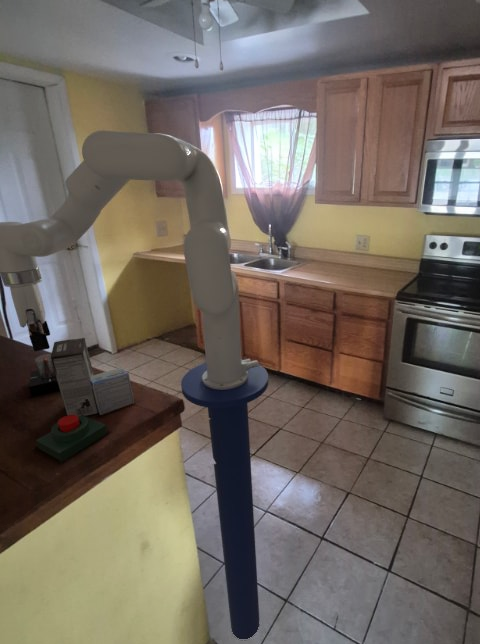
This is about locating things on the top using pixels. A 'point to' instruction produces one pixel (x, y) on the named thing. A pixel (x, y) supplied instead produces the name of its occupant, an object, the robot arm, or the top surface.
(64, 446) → the switch block
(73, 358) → the coffee box
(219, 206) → the robot arm
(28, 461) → the top surface
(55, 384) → the dial panel
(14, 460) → the top surface
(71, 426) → the light button
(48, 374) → the dial
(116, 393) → the medicine box
